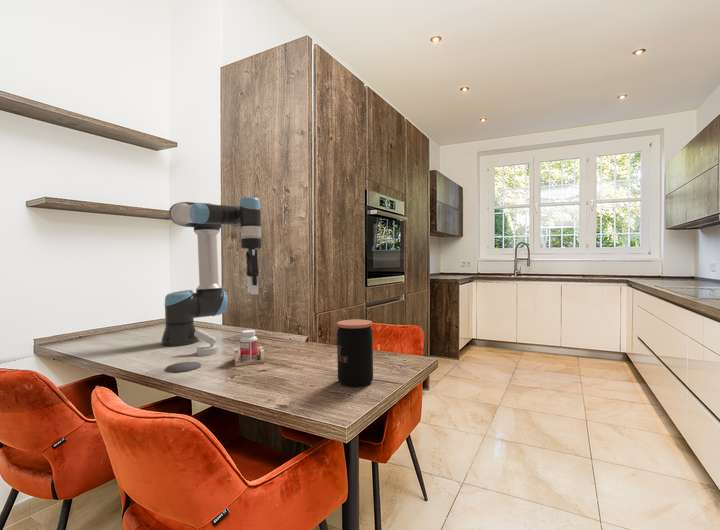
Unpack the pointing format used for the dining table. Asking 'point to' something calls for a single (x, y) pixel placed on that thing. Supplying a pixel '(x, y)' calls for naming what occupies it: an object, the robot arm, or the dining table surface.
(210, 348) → the wall hook
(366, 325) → the coffee jar
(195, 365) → the coaster
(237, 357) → the cradle
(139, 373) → the dining table surface
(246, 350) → the pill bottle
